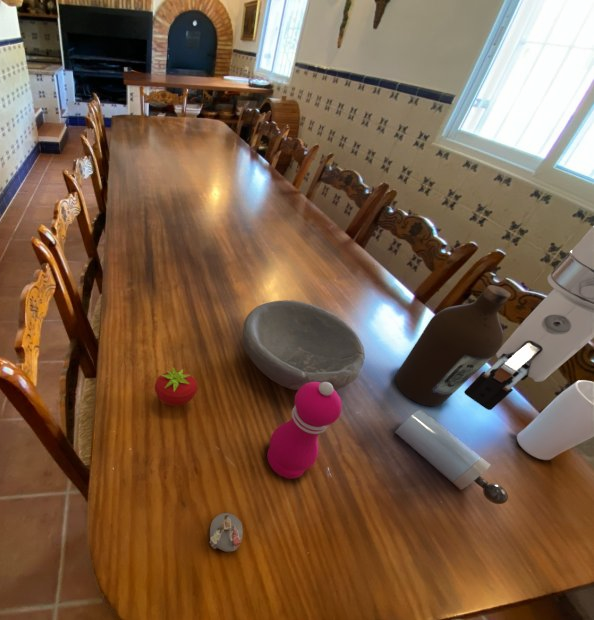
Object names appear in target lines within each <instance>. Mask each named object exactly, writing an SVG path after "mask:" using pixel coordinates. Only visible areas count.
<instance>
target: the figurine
mask: <svg viewBox="0 0 594 620" xmlns="http://www.w3.org/2000/svg"><path fill="white" fill-rule="evenodd" d="M209 539H210V541H209V544H210V546H211V548H212V549H214V550H217V549H219V550H220V551H223V552H225V553H229V552H234V551H236V550H237V549H238V548H239V547H240V546H241V543H242V541H243V523H242V521H241V520H240V519H239V518H238V517H237V516H236V515H235V514H233V513H230V512H223V513H220V514H218V515H217V516H215V518H213V520H212V521H211V524H210V528H209Z"/></svg>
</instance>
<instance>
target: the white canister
mask: <svg viewBox="0 0 594 620" xmlns="http://www.w3.org/2000/svg"><path fill="white" fill-rule="evenodd" d="M395 434H396V435H397V436H398V437H399V438H400V439H402V440H403V441H404V443H406V444H407V445H409V446H410V447H411V448H412V449H413V450H414V451H415V452H417V453H418V454H419V455H420V456H421V458H424V460H426V461H427V462H428V463H429V464H430V465H431V466H432V467H434V468H435V469H436V471H438V472H439V473H441V475H443V476H444V477H445V478H446V479H447V480H448V481H450V482H451V483H452V484H453V485H454V486H455V487H456V488H457V489H458V490H459V491H463V490H464V489H465V488H467V487H468V486H469V485H472V483H475V484H476V485H478V486H479V487H480V488H481V489H482V493H483V496H484V497H485V499H486V500H487V501H489V502H490V503H492V504H494V505H503V504H506V503H507V502H508V498H509V496H508V493H507V491H506V490H505V488H504V487H502V486H501V485H499V484H497V483H490V482H488V481H487V480H485V479H484V478H483V477H482V476H481V475H483V474H484V473H485V472H486V471H487V470H488V469H489V468H491V465H492V464H491V463H489V462H488V460H485V459H484V458H483V457H482V456H481V455H480V454H478V453H477V452H476V451H474V450H473V449H472V448H471V447H469V446H468V445H467V444H466V443H464V442H463V441H462V440H460V439H459V438H458V437H457V436H456V435H454V434H453V433H452V432H450V431H449V430H448V429H447V428H445V427H444V426H443V425H442V424H441V423H439V422H438V421H436V420H435V419H434V418H433V417H432V416H430V415H429V414H428V413H426V412H425V411H424V410H423V409H418V410H416V411H415V412H414V413H413V414H411V415H410V416H409V417H407V419H405V420H404V422H402V424H400V425H399V427H398V428H397V429H396V430H395Z"/></svg>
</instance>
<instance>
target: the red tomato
mask: <svg viewBox="0 0 594 620" xmlns="http://www.w3.org/2000/svg"><path fill="white" fill-rule="evenodd" d="M154 391H155V394H156V396H157V398H158V400H160V401H161V402H162V403H164V404H165V405H168V406H170V407H178V406H182V405H185V404H187V403H189V402H190V401H191V400H193V398H194V397H195V396H196V394H197V393H198V382H197V380H196V379H195V377H194V376H192V374H189V373H187V372H184V368H182V369H181V370H180V371H179V370H176V369H175V367H174V366H173V367H172V371H169V370H168V369H166V370H165V372H164V373H162V374H160V376H159V377H158V378H157V379H156V381H155V383H154Z"/></svg>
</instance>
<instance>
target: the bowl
mask: <svg viewBox="0 0 594 620" xmlns="http://www.w3.org/2000/svg"><path fill="white" fill-rule="evenodd" d="M242 341H243V346H244V349H245V351H246V353H247V356H248V357H249V358H250V360H251V361H252V363H253V364H254V365H255V367H256V368H257V369H258V370H259V371H260V372H261V373H262V374H263V375H264V376H266V377H267V378H268V379H269V380H271V381H272V382H274V383H276V384H278V385H280V386H281V387H284V388H287V389H290V390H293V391H298V390H299V389H300V388H301V387H302V386H303V385H305V384H307V383H310V382H320V383H323V382H329V383H330V384H331V385H332V386H333V389H334V390H335V391H336V390H340V389H342V388H344V387H346V386H348V385H350V384H352V383H353V382H354V381H356V380H357V378H359V375H360V373H361V369H362V367H363V365H364V362H365V357H366V354H365V349H364V345H363V343H362V341H361V339H360V337H359V336H358V334H357V333H356V331H354V330H353V328H352V327H351V326H350V325H349V324H348V323H347V322H345V320H343V319H342V318H340V317H339V316H337V315H335V314H334V313H332V312H331V311H329V310H326V309H324V308H322V307H320V306H317V305H314V304H311V303H306V302H303V301H298V300H287V299H286V300H284V299H283V300H275V301H269V302H264V303H262V304H260V305H258V306H256V307H255V308H253V309H252V310H251V311H250V312H249V313H248V314H247V316H246V317H245V319H244V321H243V325H242Z"/></svg>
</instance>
